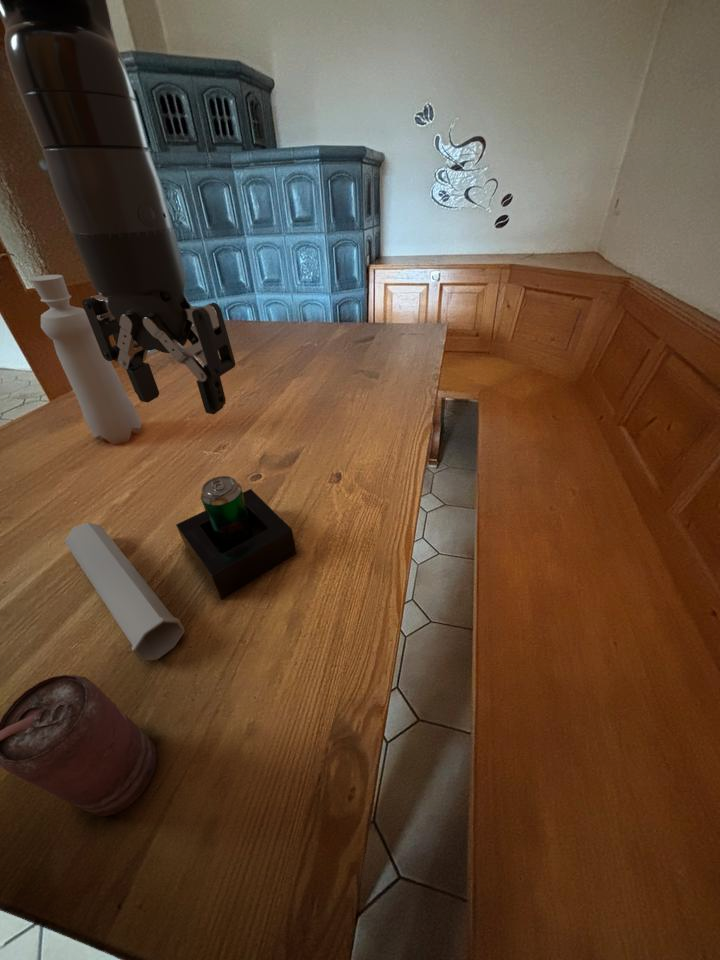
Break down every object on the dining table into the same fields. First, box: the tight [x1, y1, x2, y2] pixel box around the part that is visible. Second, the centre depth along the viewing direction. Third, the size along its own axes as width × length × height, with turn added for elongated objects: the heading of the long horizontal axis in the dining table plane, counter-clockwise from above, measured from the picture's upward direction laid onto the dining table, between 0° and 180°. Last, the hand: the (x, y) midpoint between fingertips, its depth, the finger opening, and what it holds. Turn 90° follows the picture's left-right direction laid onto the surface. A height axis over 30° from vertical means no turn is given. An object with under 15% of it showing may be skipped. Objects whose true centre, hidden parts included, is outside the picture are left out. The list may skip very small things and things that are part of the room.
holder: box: [176, 488, 297, 600], centre depth 54 cm, size 12×12×5 cm
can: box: [0, 674, 157, 817], centre depth 31 cm, size 6×6×14 cm
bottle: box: [29, 274, 142, 445], centre depth 71 cm, size 9×9×30 cm
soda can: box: [200, 475, 255, 554], centre depth 52 cm, size 5×5×12 cm
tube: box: [64, 522, 186, 662], centre depth 49 cm, size 5×5×25 cm
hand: (182, 404), depth 41 cm, fingers open, 8 cm apart
